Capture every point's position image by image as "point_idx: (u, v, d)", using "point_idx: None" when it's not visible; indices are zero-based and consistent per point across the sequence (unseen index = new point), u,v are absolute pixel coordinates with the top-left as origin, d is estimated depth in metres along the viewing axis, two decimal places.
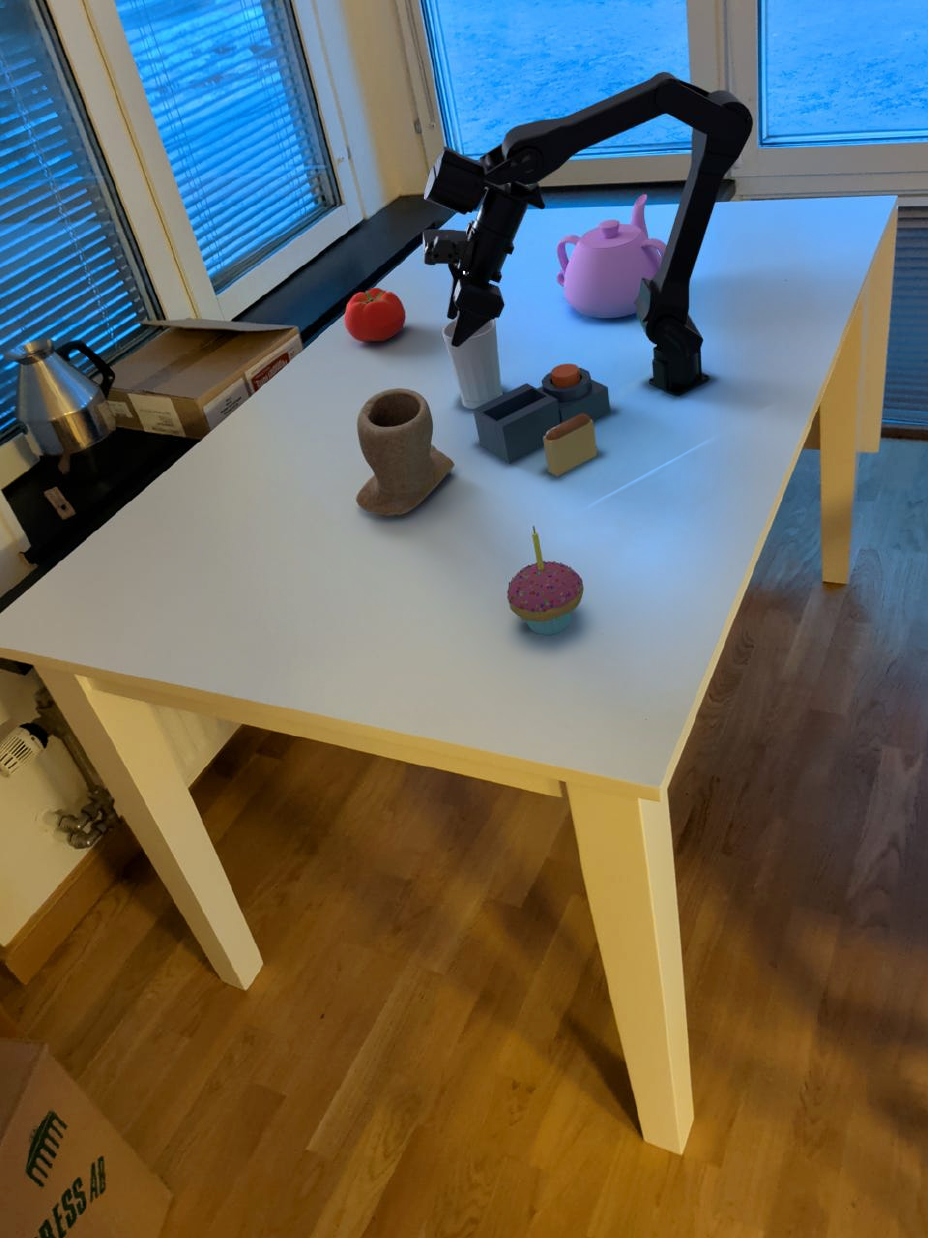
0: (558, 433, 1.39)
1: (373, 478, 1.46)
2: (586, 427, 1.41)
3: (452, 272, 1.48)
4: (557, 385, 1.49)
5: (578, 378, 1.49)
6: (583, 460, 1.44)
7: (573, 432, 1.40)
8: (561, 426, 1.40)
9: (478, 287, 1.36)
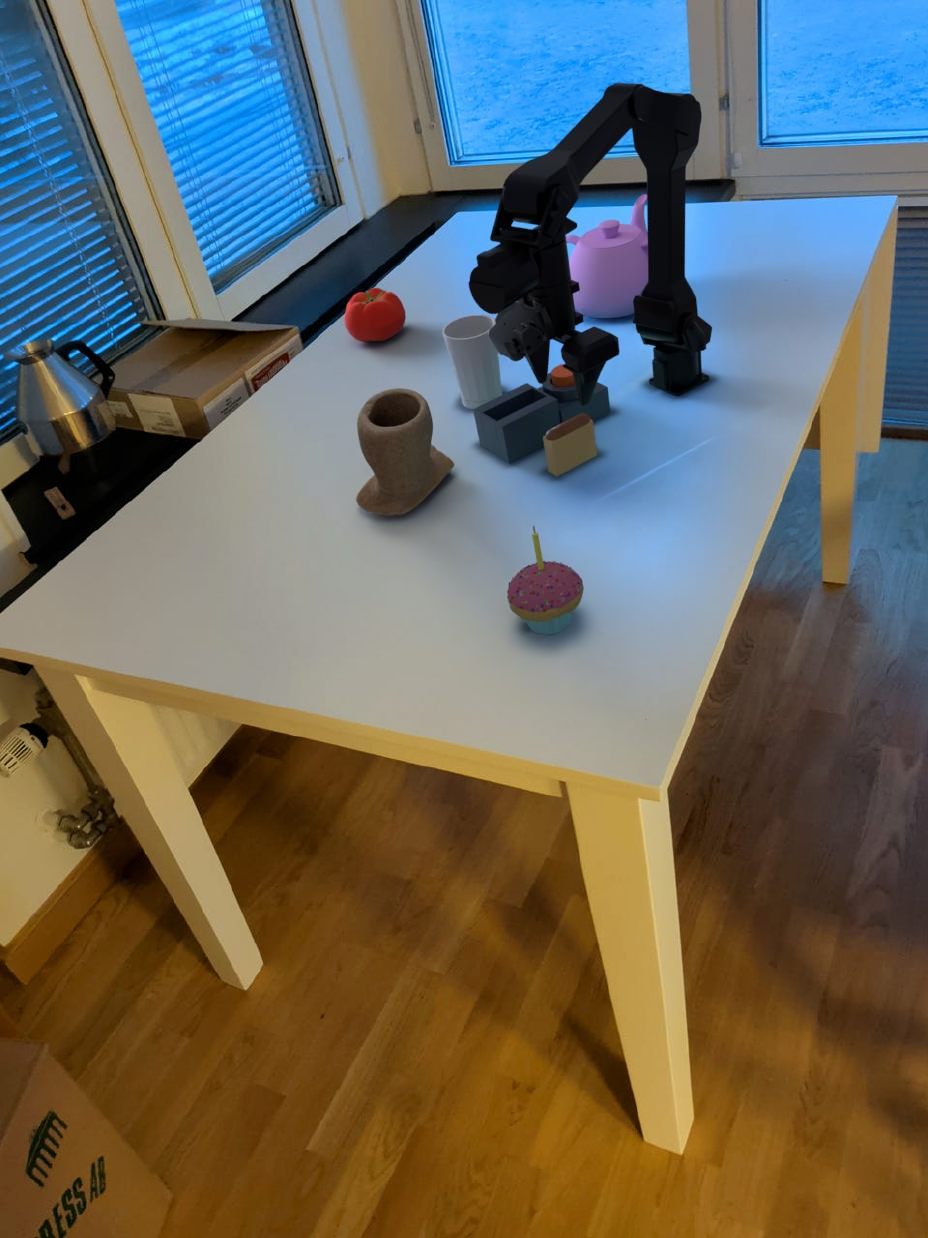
0: (558, 433, 1.39)
1: (373, 478, 1.46)
2: (586, 427, 1.41)
3: None
4: (557, 385, 1.49)
5: None
6: (583, 460, 1.44)
7: (573, 432, 1.40)
8: (561, 426, 1.40)
9: (589, 343, 1.25)
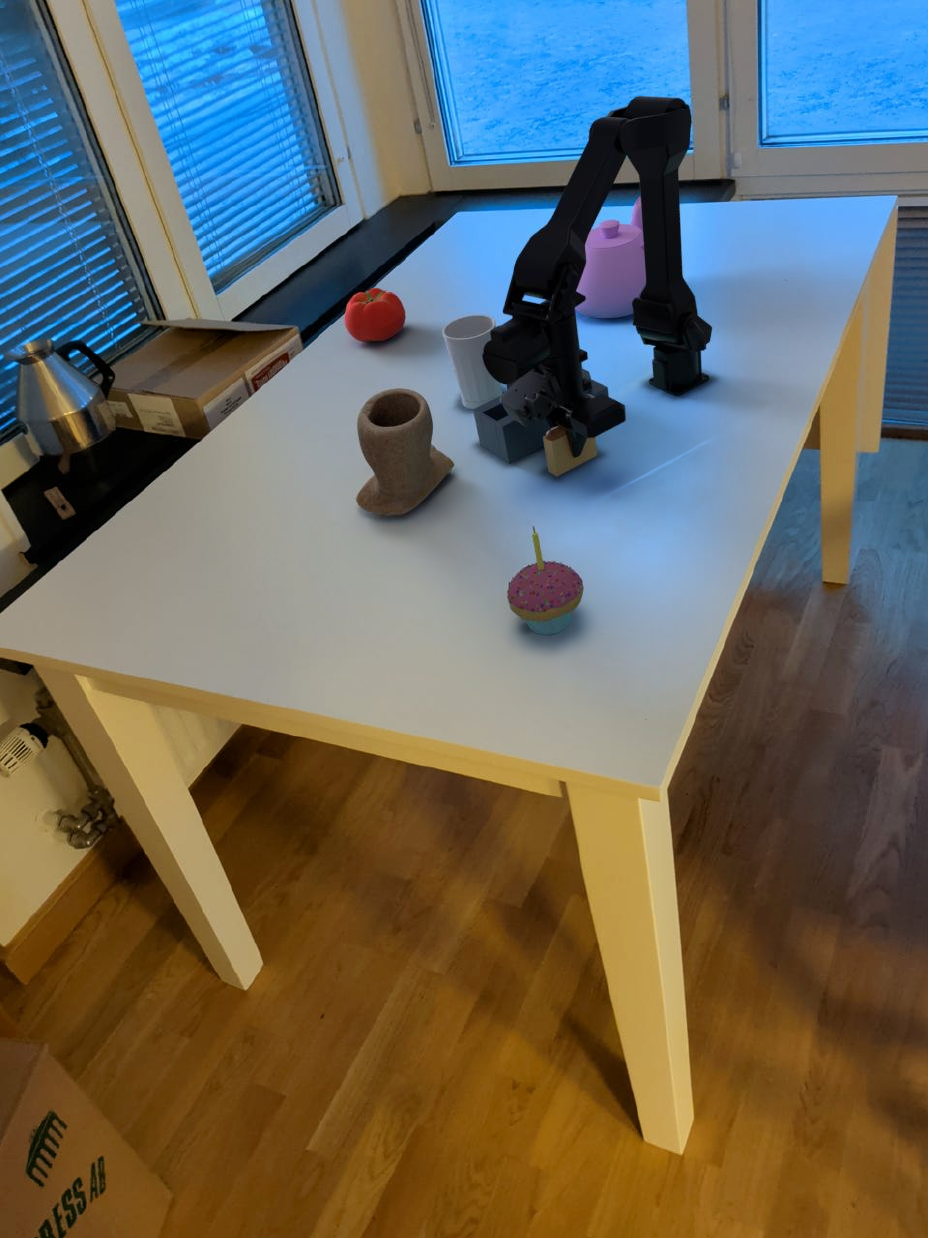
0: (558, 433, 1.39)
1: (373, 478, 1.46)
2: None
3: (546, 415, 1.40)
4: None
5: None
6: (583, 460, 1.44)
7: None
8: (561, 426, 1.40)
9: (597, 411, 1.31)
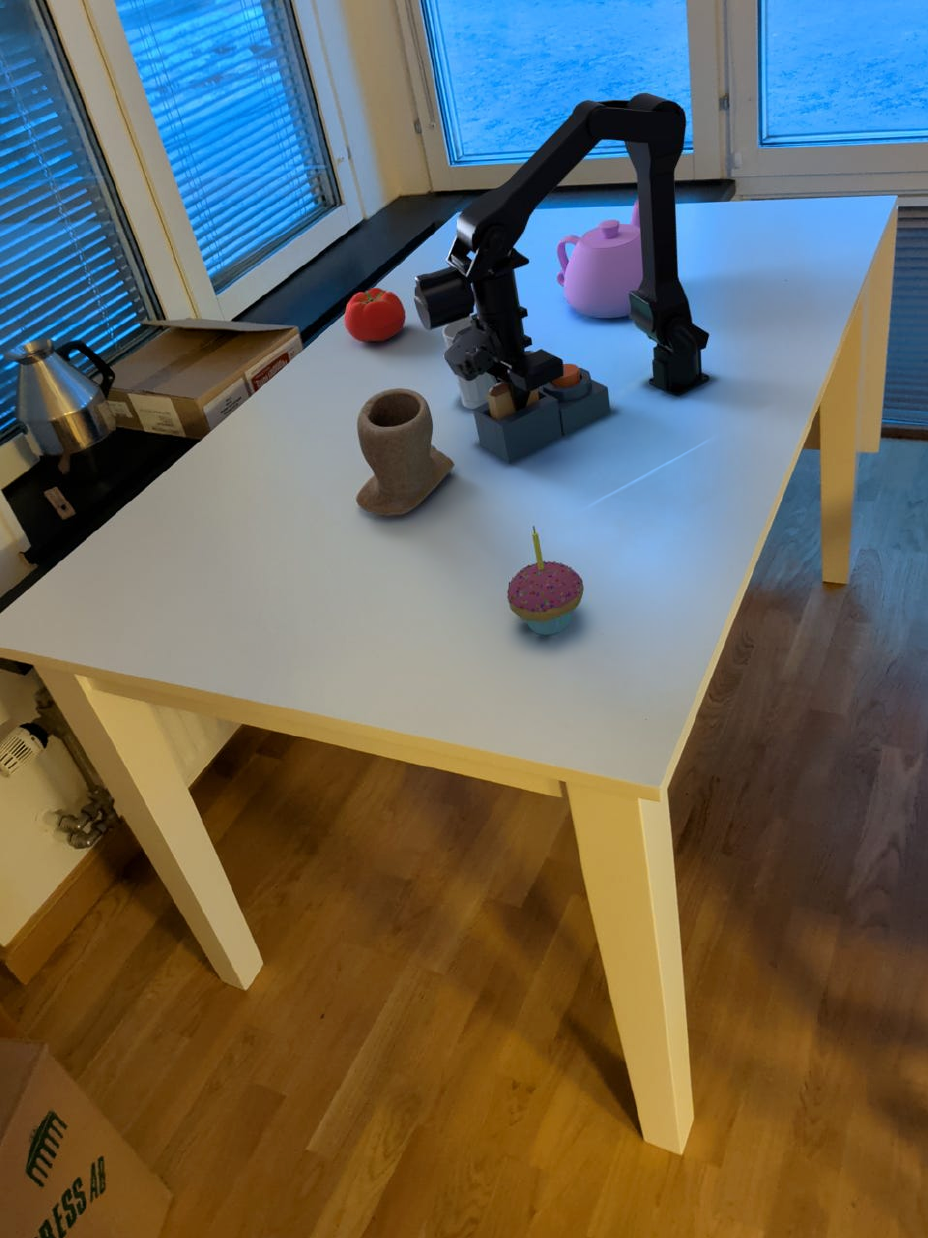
0: (501, 389, 1.44)
1: (373, 478, 1.46)
2: None
3: (490, 372, 1.45)
4: (557, 385, 1.49)
5: (578, 378, 1.49)
6: None
7: None
8: (504, 382, 1.45)
9: (535, 365, 1.35)
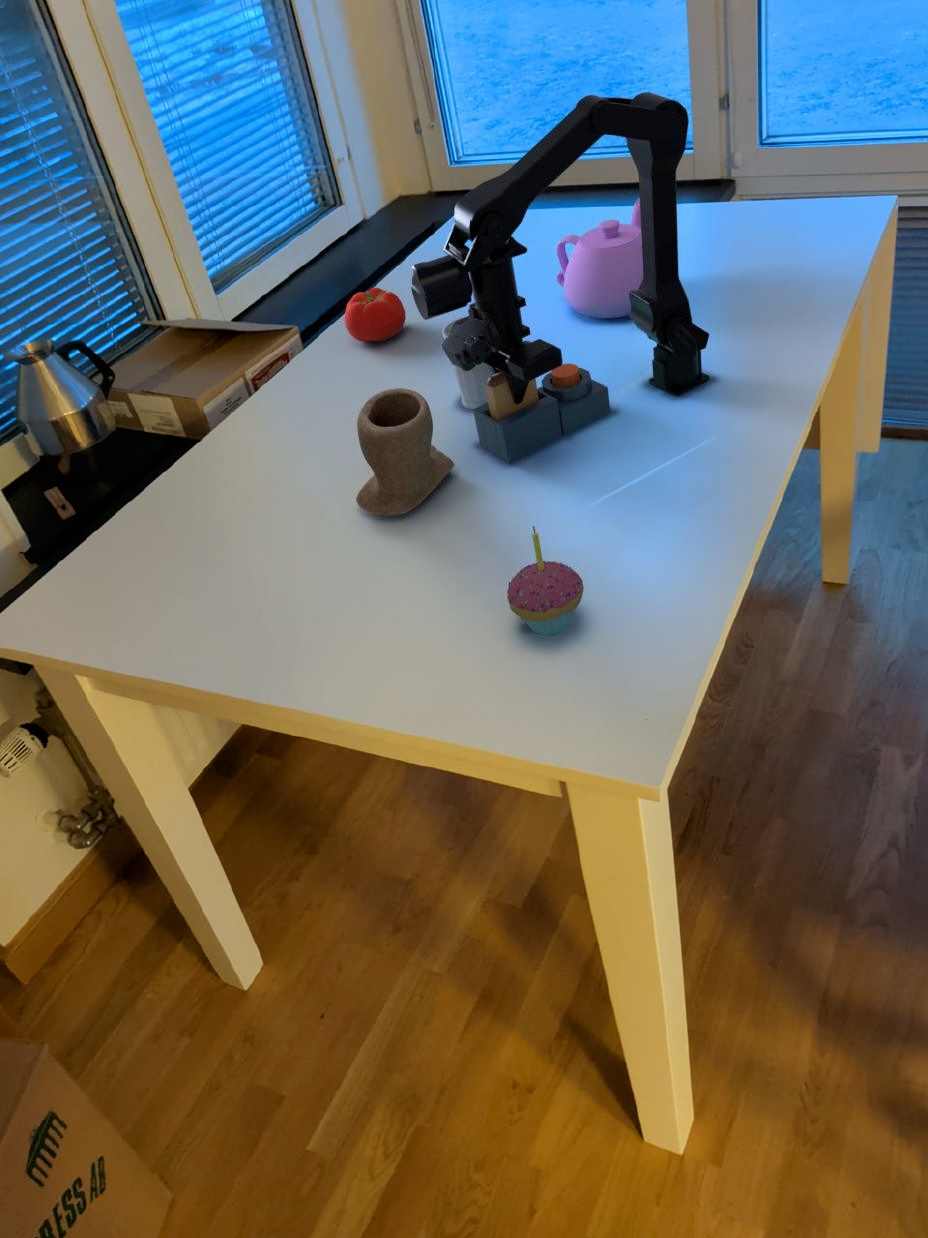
0: (499, 379, 1.43)
1: (373, 478, 1.46)
2: None
3: (487, 362, 1.44)
4: (557, 385, 1.49)
5: (578, 378, 1.49)
6: None
7: None
8: (502, 373, 1.44)
9: (533, 354, 1.34)
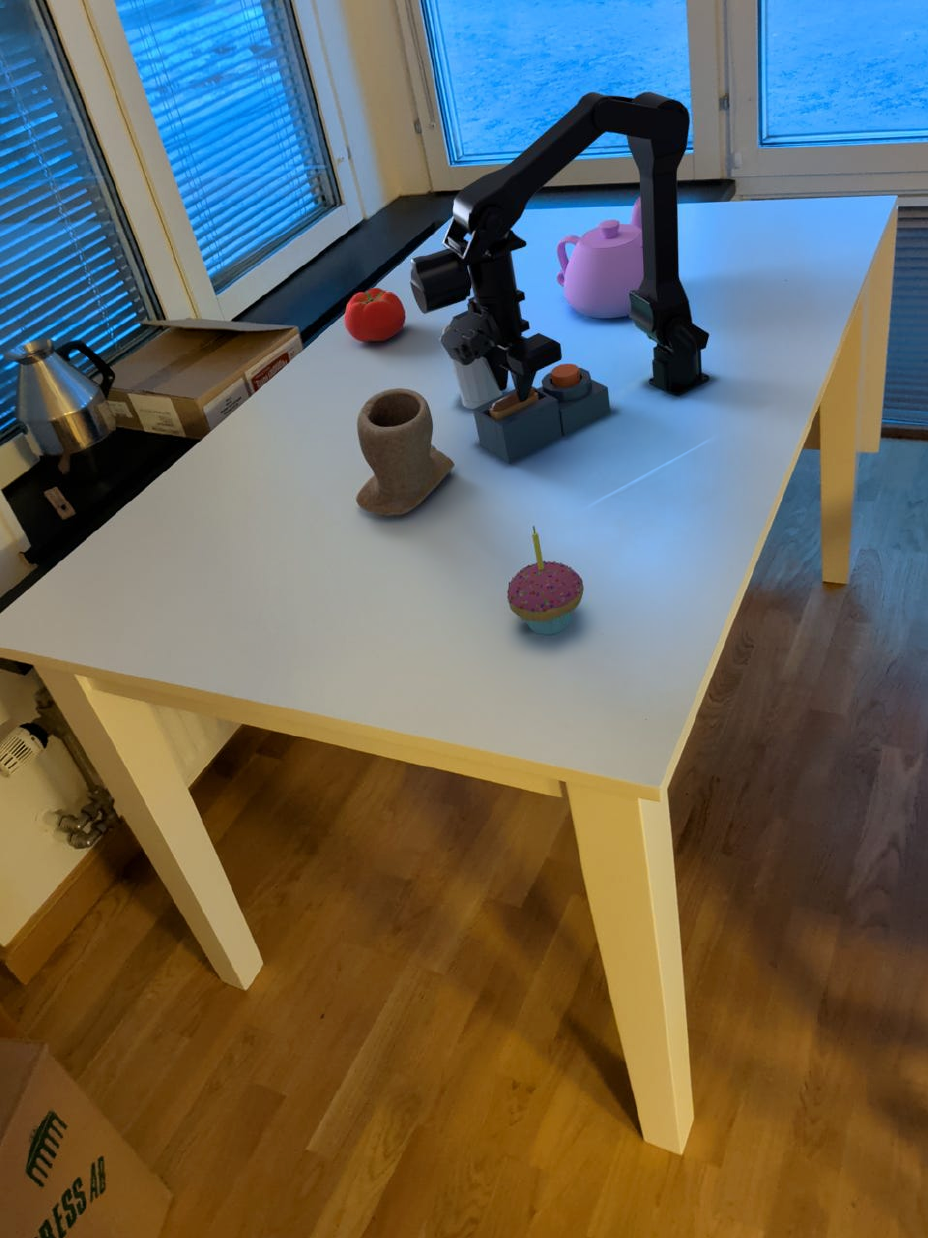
0: (503, 405, 1.46)
1: (373, 478, 1.46)
2: (531, 399, 1.48)
3: None
4: (557, 385, 1.49)
5: (578, 378, 1.49)
6: None
7: (518, 404, 1.47)
8: (506, 398, 1.46)
9: (533, 348, 1.34)
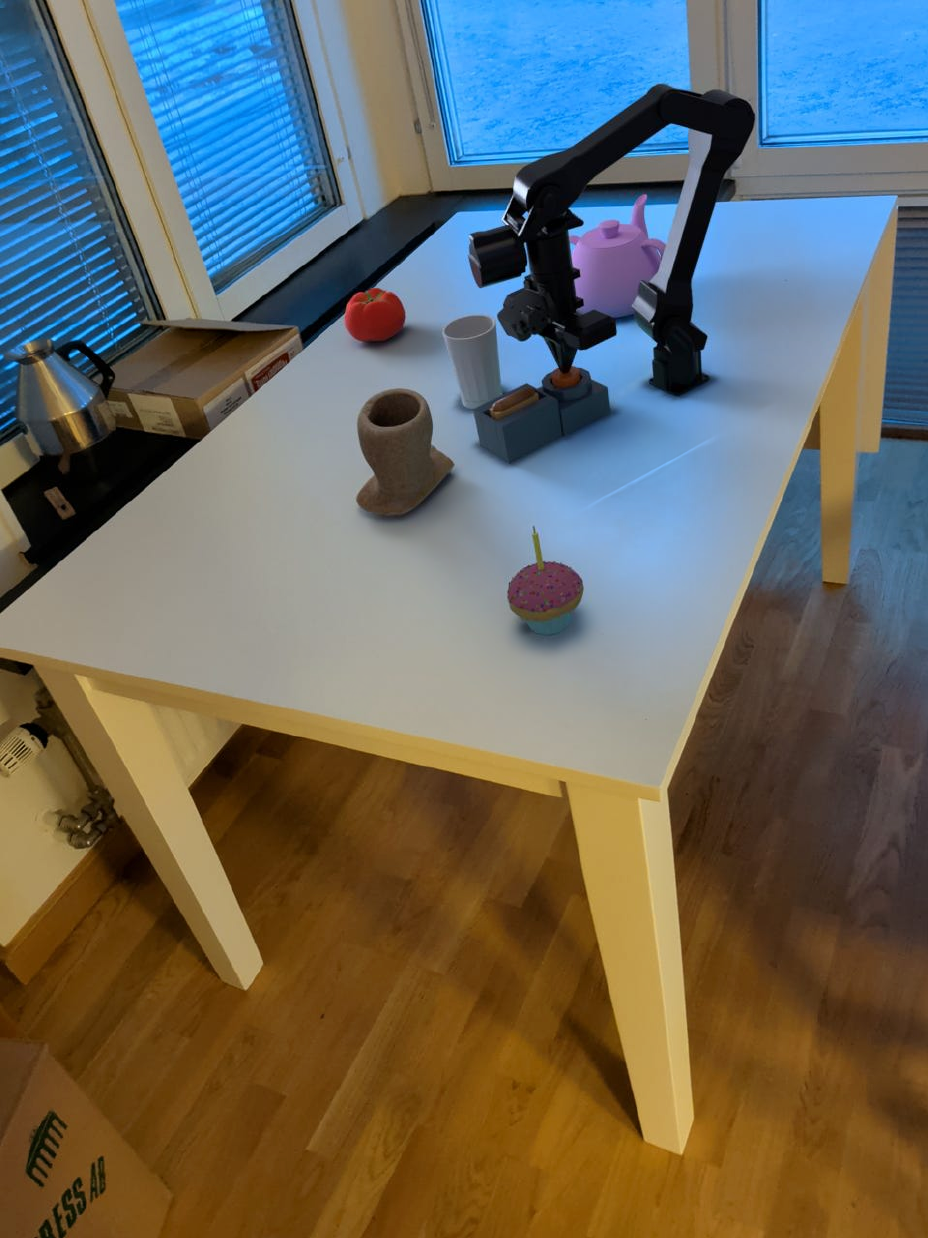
0: (504, 405, 1.46)
1: (373, 478, 1.46)
2: (531, 400, 1.48)
3: (545, 335, 1.46)
4: None
5: (578, 380, 1.50)
6: None
7: (518, 404, 1.47)
8: (507, 398, 1.46)
9: (589, 324, 1.37)
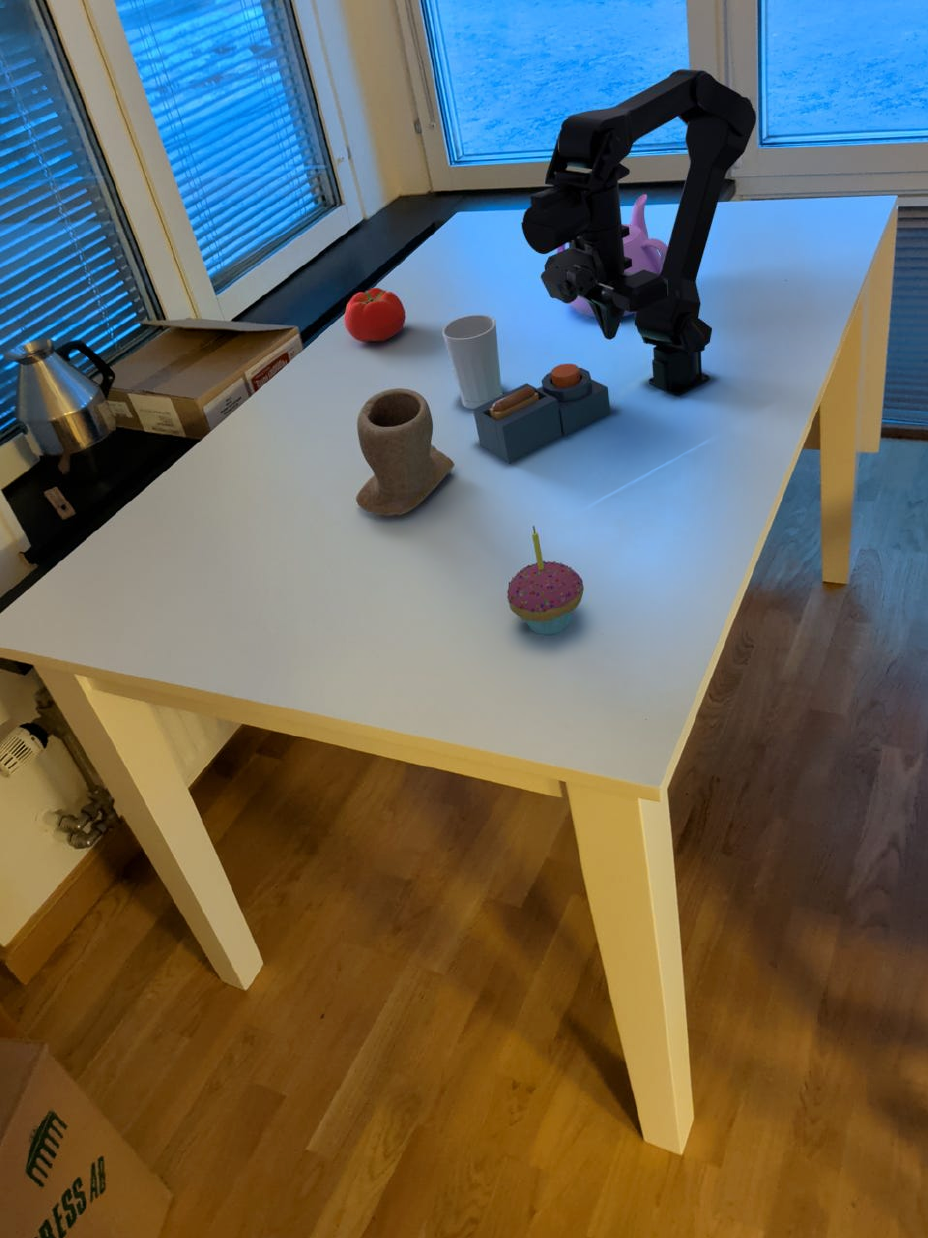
0: (504, 405, 1.46)
1: (373, 478, 1.46)
2: (531, 400, 1.48)
3: (590, 298, 1.38)
4: (557, 385, 1.49)
5: (578, 378, 1.49)
6: None
7: (518, 404, 1.47)
8: (507, 398, 1.46)
9: (640, 284, 1.29)
